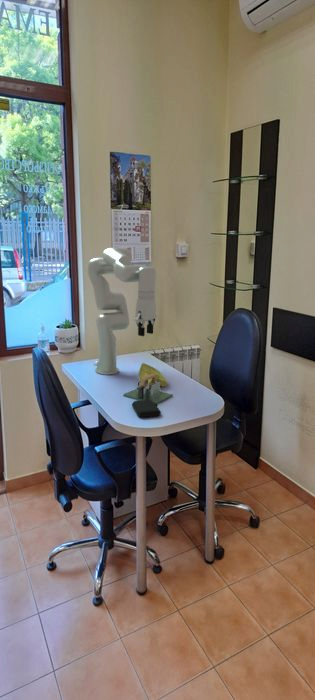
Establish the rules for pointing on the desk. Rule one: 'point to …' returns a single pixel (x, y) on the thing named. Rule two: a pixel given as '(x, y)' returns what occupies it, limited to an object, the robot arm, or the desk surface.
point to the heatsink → (148, 392)
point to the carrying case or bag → (146, 408)
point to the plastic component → (149, 370)
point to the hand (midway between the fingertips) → (145, 334)
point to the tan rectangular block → (147, 379)
